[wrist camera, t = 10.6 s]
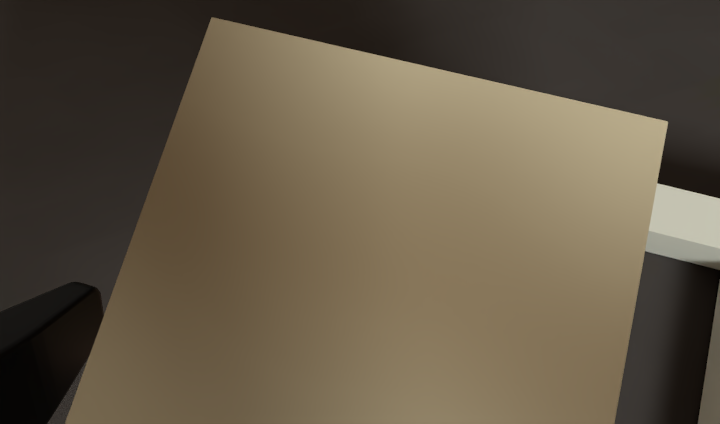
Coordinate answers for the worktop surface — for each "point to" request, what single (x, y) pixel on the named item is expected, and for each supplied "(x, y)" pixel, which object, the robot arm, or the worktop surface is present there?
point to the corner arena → (695, 245)
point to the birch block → (375, 248)
